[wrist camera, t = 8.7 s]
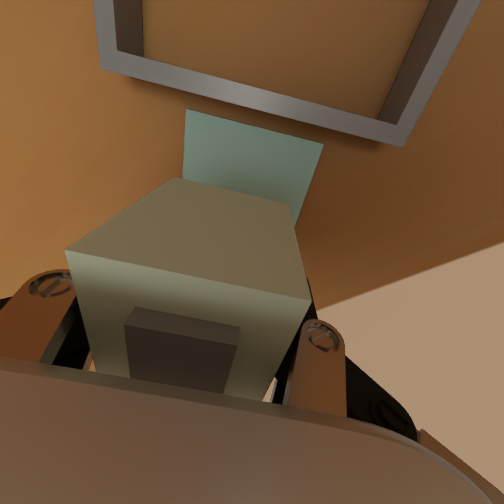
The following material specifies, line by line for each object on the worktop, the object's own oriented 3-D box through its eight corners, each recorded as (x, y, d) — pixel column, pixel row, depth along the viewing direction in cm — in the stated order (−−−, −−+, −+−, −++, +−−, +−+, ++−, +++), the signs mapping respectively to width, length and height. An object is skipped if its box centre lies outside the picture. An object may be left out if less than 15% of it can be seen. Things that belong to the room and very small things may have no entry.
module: (288, 203, 10) (316, 320, 4) (256, 301, 13) (249, 442, 7) (173, 176, 9) (42, 264, 4) (169, 283, 13) (93, 417, 7)
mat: (323, 143, 16) (324, 144, 16) (283, 255, 22) (283, 257, 21) (187, 108, 16) (186, 108, 16) (180, 232, 21) (179, 233, 21)
